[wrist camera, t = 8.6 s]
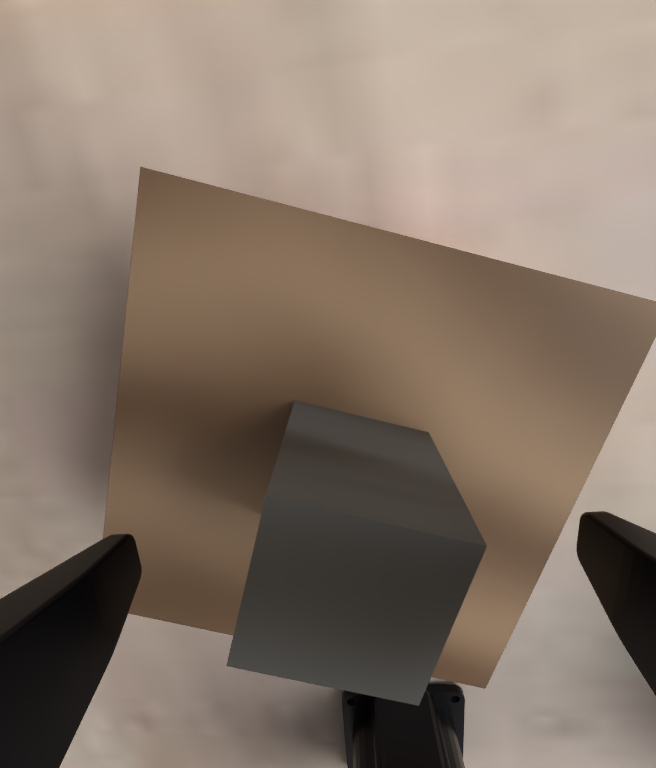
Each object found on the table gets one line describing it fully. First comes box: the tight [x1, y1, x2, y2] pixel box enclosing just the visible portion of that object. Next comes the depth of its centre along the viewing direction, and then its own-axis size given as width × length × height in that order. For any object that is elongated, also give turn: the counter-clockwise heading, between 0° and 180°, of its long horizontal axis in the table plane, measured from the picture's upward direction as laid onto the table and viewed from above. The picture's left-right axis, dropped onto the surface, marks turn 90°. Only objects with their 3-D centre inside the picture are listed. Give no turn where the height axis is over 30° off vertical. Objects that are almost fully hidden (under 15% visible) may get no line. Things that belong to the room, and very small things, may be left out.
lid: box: [103, 167, 656, 706], centre depth 11 cm, size 14×14×6 cm
